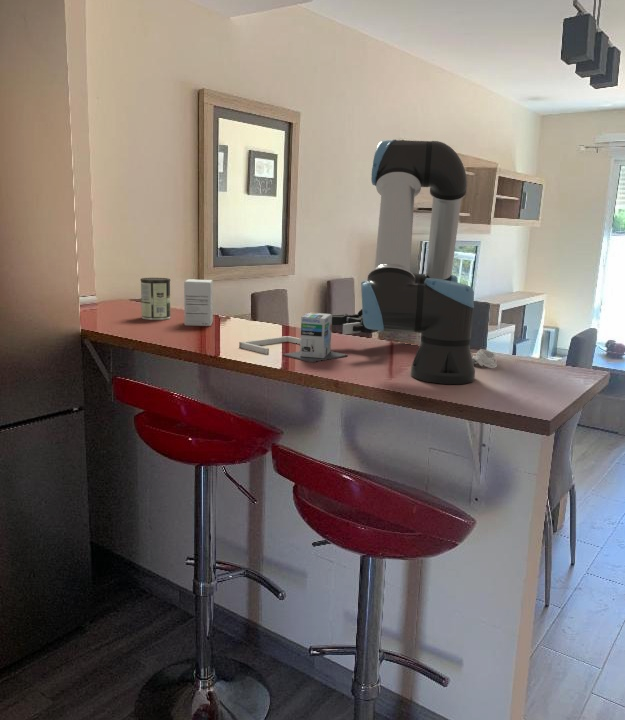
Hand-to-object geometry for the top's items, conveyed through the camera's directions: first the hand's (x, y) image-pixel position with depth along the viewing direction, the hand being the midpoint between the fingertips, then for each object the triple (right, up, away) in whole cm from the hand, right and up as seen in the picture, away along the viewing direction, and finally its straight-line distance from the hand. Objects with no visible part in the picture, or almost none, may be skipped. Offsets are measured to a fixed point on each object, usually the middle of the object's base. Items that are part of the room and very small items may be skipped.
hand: (324, 325), depth 175 cm
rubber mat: (-3, -8, -1) cm, 9 cm away
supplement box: (-43, +3, +45) cm, 62 cm away
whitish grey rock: (+42, -11, -5) cm, 44 cm away
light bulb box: (-3, -8, -1) cm, 9 cm away
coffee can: (-60, +6, +55) cm, 81 cm away
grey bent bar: (-14, -6, +9) cm, 17 cm away
